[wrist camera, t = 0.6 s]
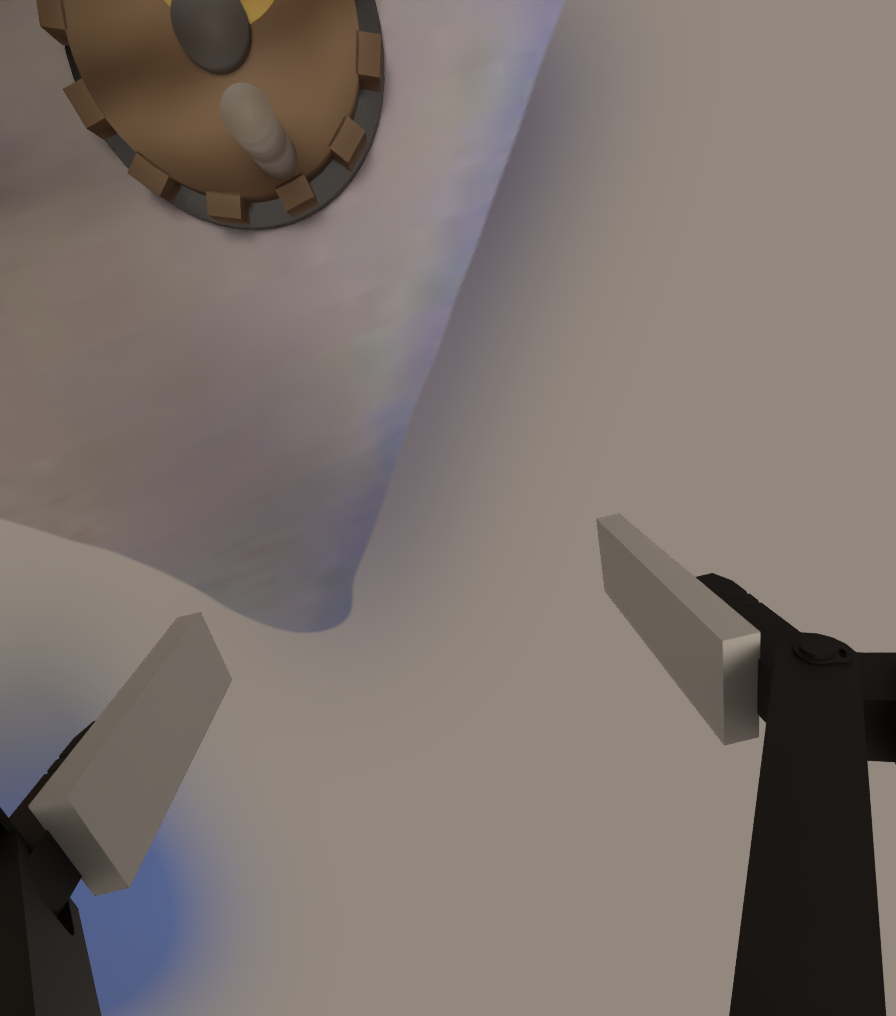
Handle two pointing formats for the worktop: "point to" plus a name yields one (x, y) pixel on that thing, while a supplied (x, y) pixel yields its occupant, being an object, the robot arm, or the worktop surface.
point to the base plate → (322, 185)
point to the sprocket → (222, 92)
